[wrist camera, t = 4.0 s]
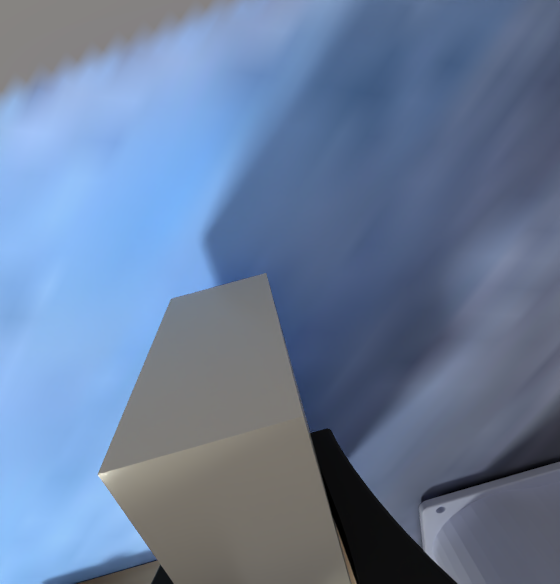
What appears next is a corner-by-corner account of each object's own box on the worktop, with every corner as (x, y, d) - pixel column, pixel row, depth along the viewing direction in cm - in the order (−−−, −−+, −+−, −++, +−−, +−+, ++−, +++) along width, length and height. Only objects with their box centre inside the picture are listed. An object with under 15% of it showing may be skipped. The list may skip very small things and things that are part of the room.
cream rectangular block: (266, 273, 10) (303, 416, 5) (332, 512, 15) (387, 717, 10) (170, 298, 10) (97, 474, 5) (268, 530, 15) (288, 747, 10)
